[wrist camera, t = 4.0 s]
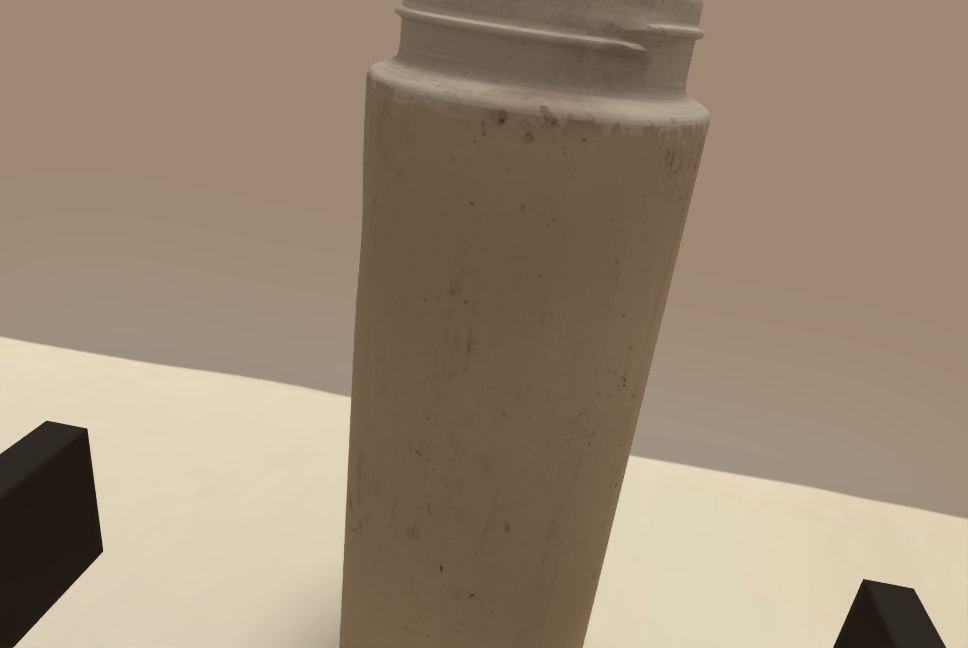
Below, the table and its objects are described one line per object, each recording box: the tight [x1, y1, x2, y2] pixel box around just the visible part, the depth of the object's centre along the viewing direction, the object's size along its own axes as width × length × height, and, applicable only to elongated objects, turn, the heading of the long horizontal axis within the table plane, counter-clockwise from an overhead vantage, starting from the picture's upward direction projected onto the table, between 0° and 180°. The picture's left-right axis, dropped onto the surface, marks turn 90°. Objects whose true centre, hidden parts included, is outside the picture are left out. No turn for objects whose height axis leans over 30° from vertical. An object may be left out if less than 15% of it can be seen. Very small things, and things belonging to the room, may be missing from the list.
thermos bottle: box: [340, 0, 710, 648], centre depth 20 cm, size 8×8×28 cm
